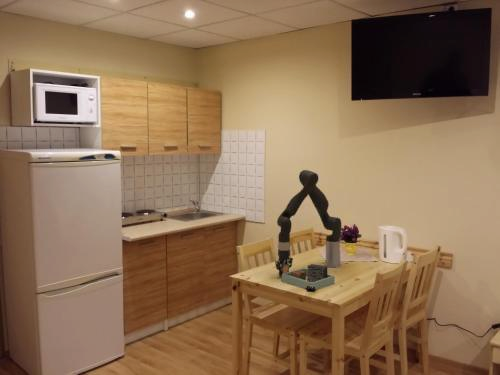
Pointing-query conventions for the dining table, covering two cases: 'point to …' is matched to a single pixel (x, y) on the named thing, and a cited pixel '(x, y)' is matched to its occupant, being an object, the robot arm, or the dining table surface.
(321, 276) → the small box
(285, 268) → the jar
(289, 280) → the teal shallow rectangular tray
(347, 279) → the dining table surface
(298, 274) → the block
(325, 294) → the dining table surface
